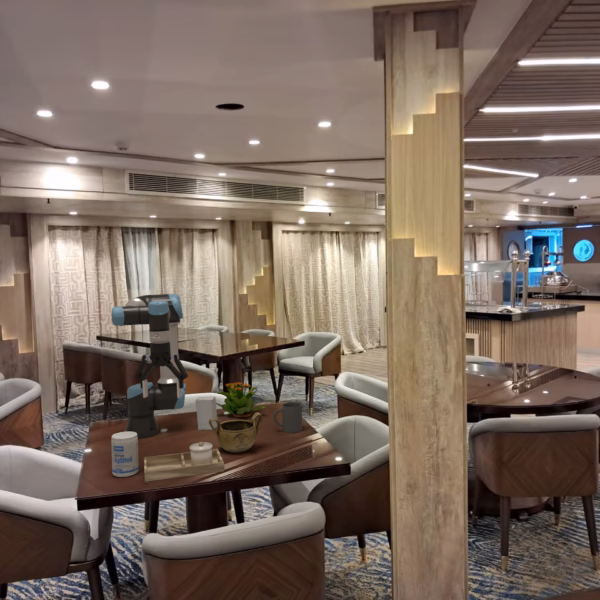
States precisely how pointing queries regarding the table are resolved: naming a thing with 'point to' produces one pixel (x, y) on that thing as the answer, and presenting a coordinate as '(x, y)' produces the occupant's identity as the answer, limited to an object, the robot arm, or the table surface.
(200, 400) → the skincare box
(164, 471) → the caddy
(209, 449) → the sugar pot
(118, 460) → the supplement tub
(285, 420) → the mug
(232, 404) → the potted flower
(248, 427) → the ceramic bowl
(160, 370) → the robot arm
